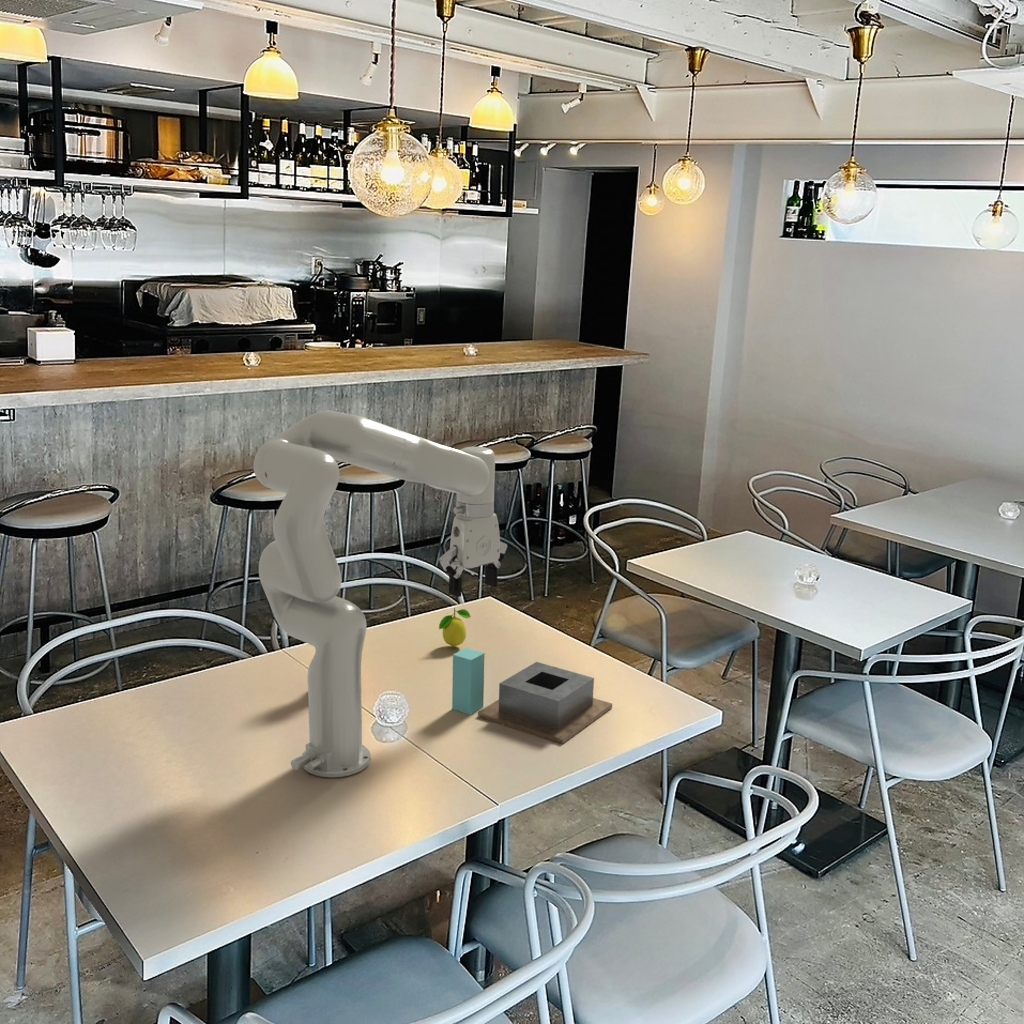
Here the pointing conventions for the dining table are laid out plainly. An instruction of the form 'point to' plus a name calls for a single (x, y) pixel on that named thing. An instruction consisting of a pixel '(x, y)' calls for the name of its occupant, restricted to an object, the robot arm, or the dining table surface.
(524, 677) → the well
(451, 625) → the lemon
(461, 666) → the teal post
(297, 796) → the dining table surface
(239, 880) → the dining table surface
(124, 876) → the dining table surface
